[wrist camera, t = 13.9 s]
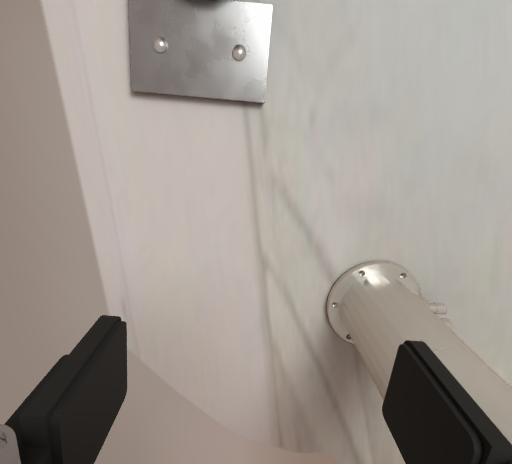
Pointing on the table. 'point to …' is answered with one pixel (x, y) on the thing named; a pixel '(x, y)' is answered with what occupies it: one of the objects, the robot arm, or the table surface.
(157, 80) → the ring mounting bracket
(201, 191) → the table surface
